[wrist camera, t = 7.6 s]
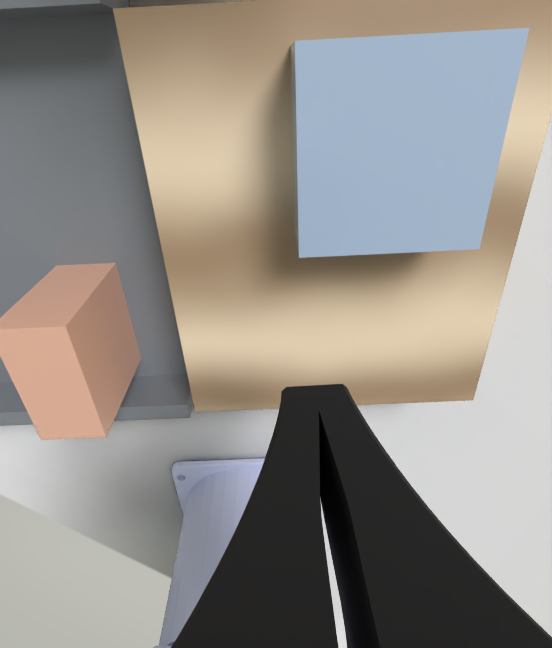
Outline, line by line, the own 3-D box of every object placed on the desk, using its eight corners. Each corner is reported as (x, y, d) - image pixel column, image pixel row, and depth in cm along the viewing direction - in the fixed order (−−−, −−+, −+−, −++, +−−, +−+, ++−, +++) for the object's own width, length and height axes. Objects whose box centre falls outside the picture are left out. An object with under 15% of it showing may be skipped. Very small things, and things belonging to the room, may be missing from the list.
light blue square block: (446, 220, 14) (479, 249, 11) (294, 228, 14) (298, 257, 12) (479, 35, 11) (529, 27, 9) (290, 45, 11) (295, 40, 9)
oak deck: (444, 352, 21) (473, 400, 18) (205, 363, 21) (195, 412, 18) (517, 0, 13) (587, -19, 10) (147, 21, 13) (112, 8, 11)
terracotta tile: (106, 437, 16) (41, 439, 16) (141, 358, 20) (89, 360, 20) (65, 326, 13) (-13, 329, 13) (115, 262, 17) (56, 265, 17)
